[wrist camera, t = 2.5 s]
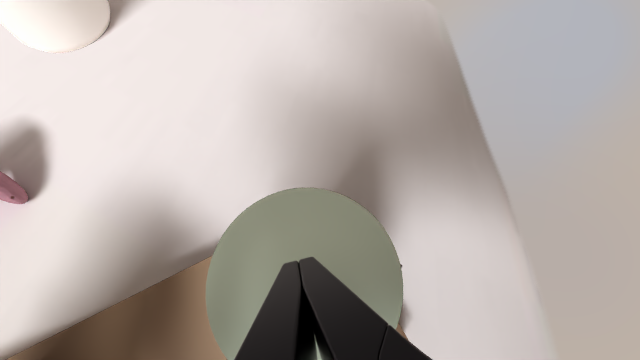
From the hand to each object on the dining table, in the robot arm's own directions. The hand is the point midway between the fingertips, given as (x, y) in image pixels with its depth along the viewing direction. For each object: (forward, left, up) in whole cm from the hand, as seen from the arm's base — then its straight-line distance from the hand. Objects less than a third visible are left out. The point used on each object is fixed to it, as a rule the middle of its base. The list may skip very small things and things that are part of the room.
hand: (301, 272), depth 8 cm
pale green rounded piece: (0, 0, -9) cm, 9 cm away
